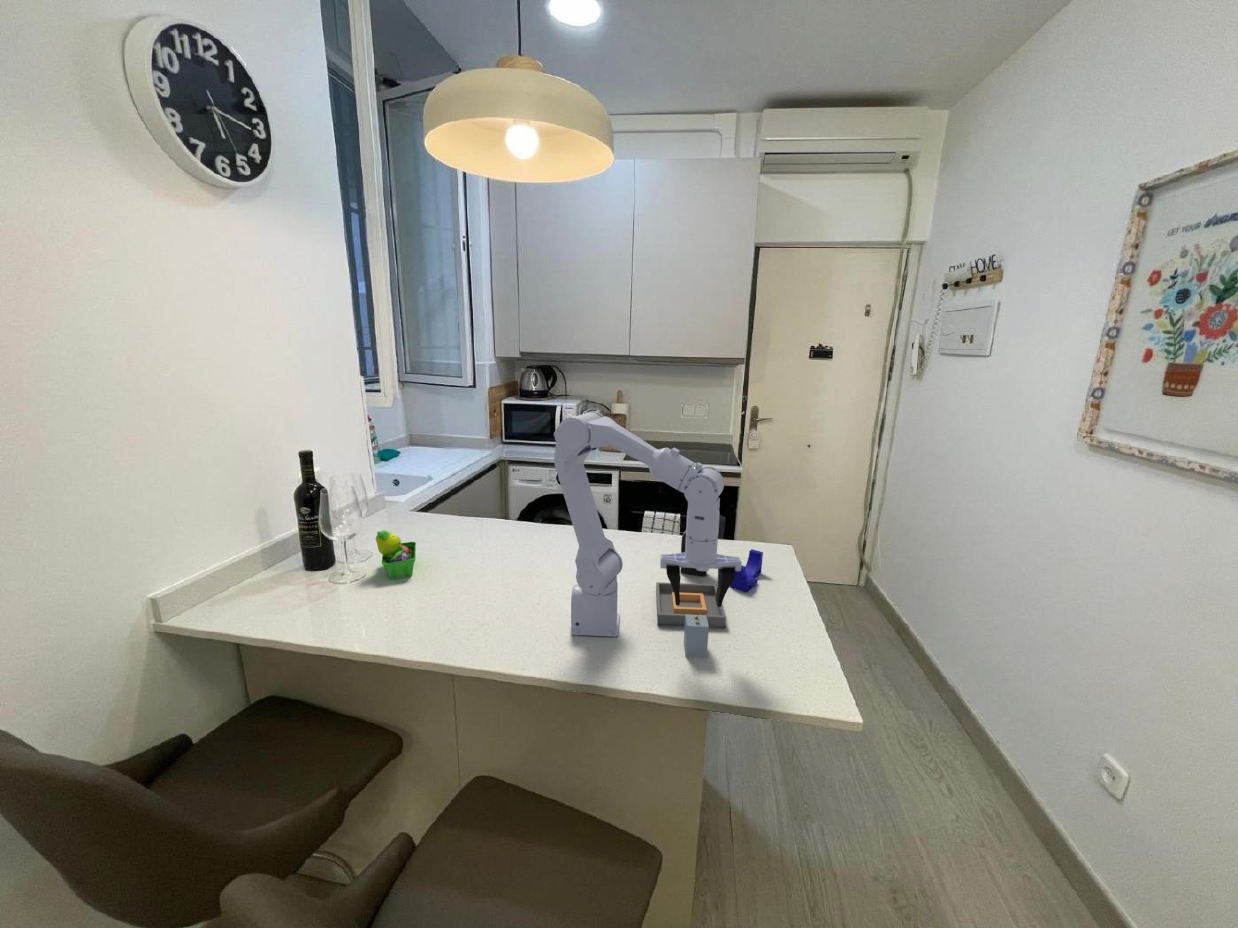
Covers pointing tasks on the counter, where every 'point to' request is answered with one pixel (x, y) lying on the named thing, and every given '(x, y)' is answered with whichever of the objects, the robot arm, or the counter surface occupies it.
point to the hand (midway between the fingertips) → (697, 603)
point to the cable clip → (748, 572)
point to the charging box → (688, 604)
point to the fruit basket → (396, 555)
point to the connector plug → (696, 635)
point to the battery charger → (689, 570)
